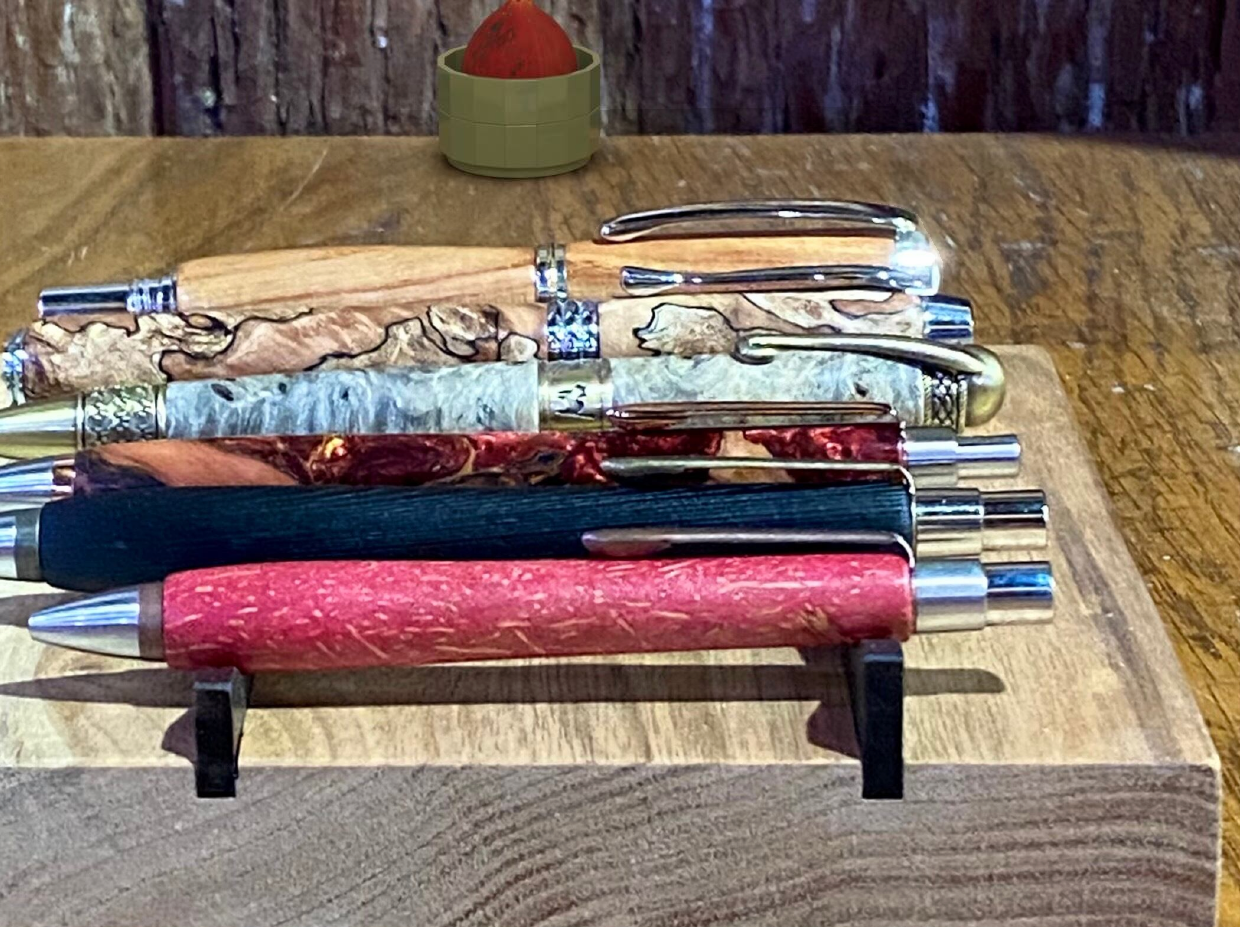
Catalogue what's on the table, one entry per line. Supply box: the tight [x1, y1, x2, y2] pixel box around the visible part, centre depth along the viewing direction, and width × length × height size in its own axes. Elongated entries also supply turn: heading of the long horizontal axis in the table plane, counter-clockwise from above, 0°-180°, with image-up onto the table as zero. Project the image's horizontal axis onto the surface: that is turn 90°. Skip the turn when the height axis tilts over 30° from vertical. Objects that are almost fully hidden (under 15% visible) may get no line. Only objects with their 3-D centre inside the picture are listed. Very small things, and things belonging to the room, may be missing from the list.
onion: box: [461, 0, 578, 79], centre depth 113 cm, size 6×6×8 cm
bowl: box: [437, 44, 601, 179], centre depth 114 cm, size 8×8×5 cm
